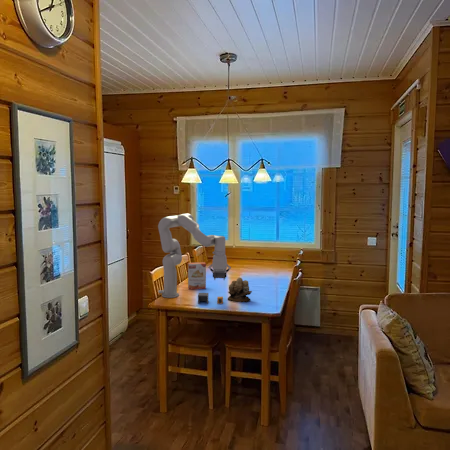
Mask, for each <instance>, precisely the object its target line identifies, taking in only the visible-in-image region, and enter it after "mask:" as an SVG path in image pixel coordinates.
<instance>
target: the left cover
mask: <svg viewBox="0 0 450 450" xmlns="http://www.w3.org/2000/svg"><path fill="white" fill-rule="evenodd" d="M200 302H206V304H207V305H208V304H209V292H198V294H197V304H198V305H199V304H200Z"/></svg>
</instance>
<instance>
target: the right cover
mask: <svg viewBox="0 0 450 450" xmlns="http://www.w3.org/2000/svg"><path fill="white" fill-rule="evenodd" d="M224 276H225V271H224V270H215V272H214V277H213V279H214V280H213V281H216V279H224Z"/></svg>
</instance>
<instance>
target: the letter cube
mask: <svg viewBox="0 0 450 450" xmlns="http://www.w3.org/2000/svg"><path fill="white" fill-rule="evenodd" d="M216 299H217V300H216V301H217V302H216V304H220V305H221V304H223V303H224V296H217V298H216Z"/></svg>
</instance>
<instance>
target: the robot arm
mask: <svg viewBox="0 0 450 450" xmlns="http://www.w3.org/2000/svg"><path fill="white" fill-rule="evenodd" d="M177 227H182V228H183V229H185V230H186V231H188V233H190V234H191V235H192V237H193V239H194V240H195V241H196V242H197V243H198V244H200V245H202V246H203V247H205V248H208V247H211V246H214V251H212V254H213V256H212V263H211V264H210V265H209V266H208V269H209V270H210V271H211V273H212V278H214V272H215V270H224V271H225V276H224V278H223V280H225V279H226V278H227V274H228V272H229V271H230V270H231V269H232V267H231V266H230V265H229V264H228V261H227V260H228V259H227V255H226V237H225V236H223V235H215V234H209V235H206V234H205V233H203V232H202V230H201V229H200V224H199V223H198V222H196V221H195V220H194V216H193V215H192V214H191V213H188V212H187V213H182V214H178V215H169V216H165V217H162V218H161V219H160V221H159V222H158V225H157V228H158V233H159V237H160V244H161V249H162V251H163V252H164V253H165V254H166V253H167V254H166V255H165V256H164V257H163V258H162V266H163V289H162V290H161V289H159V290H158V291H157V292H158V293H159V294H161V296H162V298H167V299H169V298H170V299H172V298H173V299H174V298H178V297H179V296H180V294H179V292H178V290H177V289H178V286H177V285H178V282H177V281H178V279H177V278H178V275H177V273H178V272H177V268H176V266H178V265H181V263H182V260H183V256H182V251H181V249H182V248H181V245H180V242H179V241H178V239H176V238H173V235H172V231H171V230H170V228H177Z"/></svg>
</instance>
